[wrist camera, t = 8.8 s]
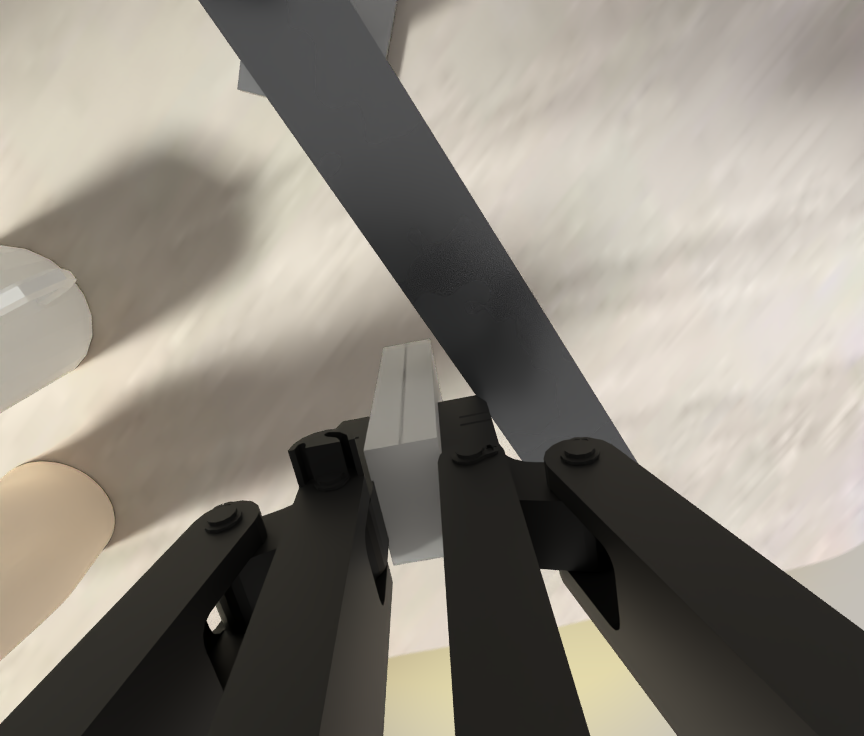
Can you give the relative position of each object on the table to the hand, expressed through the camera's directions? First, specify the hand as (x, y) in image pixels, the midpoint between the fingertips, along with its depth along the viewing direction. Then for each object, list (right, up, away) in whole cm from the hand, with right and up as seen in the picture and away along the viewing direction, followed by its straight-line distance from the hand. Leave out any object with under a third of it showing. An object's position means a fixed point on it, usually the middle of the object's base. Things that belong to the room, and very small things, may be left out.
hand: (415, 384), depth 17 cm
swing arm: (+2, +2, -2) cm, 4 cm away
